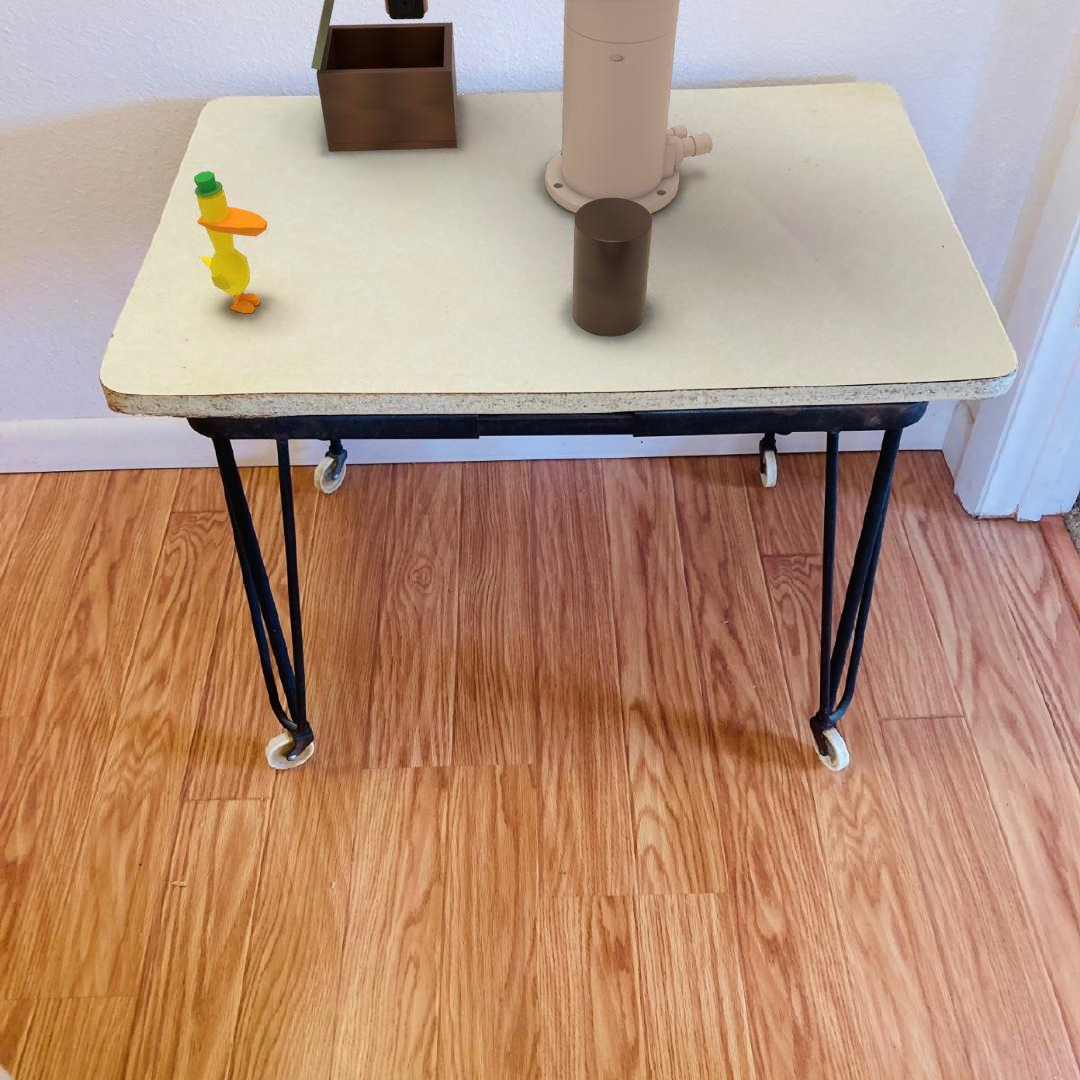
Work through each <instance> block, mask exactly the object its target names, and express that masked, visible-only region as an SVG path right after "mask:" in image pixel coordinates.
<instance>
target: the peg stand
mask: <svg viewBox="0 0 1080 1080" xmlns="http://www.w3.org/2000/svg"><path fill="white" fill-rule="evenodd" d="M573 221H574V222H573V225H574V226H573V228H574V229H573V257H572V258H573V260H572V263H573V264H572V266H573V267H572V296H571V297H572V299H571V316H572V318H573V319H574V322H575V323H576V325H578V327H579V328H581V329H583V330H584V331H586V332H588V333H591V334H593V335H598V336H605V337H616V336H622V335H625V334H628V333H630V332H632V331H634V330H636V329H637V328H639V326H640V325H641V324H642V322H643V320H644V318H645V310H646V299H647V287H648V275H649V265H650V254H651V244H652V243H651V241H652V231H653V217H652V215H651V214H650V213H649V211H648V210H647V209H646V208H645V207H643V206H642V205H640V204H638V203H636V202H634V201H631V200H627V199H623V198H601V199H597V200H593V201H590V202H588V203H586V204H584V205H583V206H582V207H580V208H579V210H578V211H577V212H576V213H574V220H573Z"/></svg>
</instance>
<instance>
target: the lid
mask: <svg viewBox="0 0 1080 1080" xmlns="http://www.w3.org/2000/svg"><path fill="white" fill-rule="evenodd" d="M334 5H335V0H323V4H322V9H321V14H320V19H319V23H318V29H317V35H316V41H315V46H314V51H313V56H312V61H311V67H310V68H311V69H314V70H316V71H317V70H320V67H321V62H322V58H323V53H324V48H325V43H326V39H327V34H328V29H329V25H331V19H332V14H333V10H334Z"/></svg>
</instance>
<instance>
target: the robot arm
mask: <svg viewBox="0 0 1080 1080" xmlns="http://www.w3.org/2000/svg"><path fill="white" fill-rule="evenodd" d="M680 1H681V0H564V1H563V3H564V4H563V7H564V8H563V9H564V10H563V43H562V44H563V45H562V47H563V50H562V52H563V53H562V110H561V111H562V113H561V114H562V119H561V120H562V121H561V122H562V123H561V124H562V125H561V131H562V132H561V150H560V151H559V152H557V153H555V155H554V156H553V157H552V158H551V159H550V160H549V162H548V163H547V165H546V168H545V172H544V184H545V188H546V192H547V193H548V194H549V196H550V198H551V199H552V200H553V201H554V202H555V203H557V205H559V206H561V207H562V208H564V209H566V210H567V211H569V212H572V213H574V214H576V212H577V211H578V210H579V208H580V207H582V206H583V205H584V204H586V203H588V202H590V201H593V200H597V199H601V198H623V199H627V200H631V201H634V202H636V203H638V204H640V205H642V206H643V207H645V208H646V209H647V210H648V211H649V213H650V214H653V213H655V212H658V211H660V210H661V209H663V208H664V207H666V206H667V205H668V204H670V203H671V202H672V201H673V199H675V197H676V195H677V193H678V191H679V183H680V172H679V170H678V167H677V165H678V164H681V163H682V162H683V160H684V159H686V158H690V157H691V158H692V157H697V156H702V155H706V154H710V153H712V151H713V139H712V137H711V134H710V133H709V132H707V131H705V132H704V131H703V132H699V133H696V134H690V135H688V130H687V127H686V126H685V125H684V124H681V125H677V126H672V127H670V128H668V124H669V123H668V122H669V111H670V101H671V92H672V91H671V90H672V81H673V80H672V79H673V70H674V60H675V59H674V57H675V49H676V37H677V27H678V22H679V21H678V20H679V11H680ZM388 8H389V14H388V17H389V18H390V19H391V20H397V21H398V20H422V19H424V17H425V14H424V1H423V0H388Z"/></svg>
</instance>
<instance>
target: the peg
mask: <svg viewBox="0 0 1080 1080" xmlns="http://www.w3.org/2000/svg"><path fill="white" fill-rule="evenodd" d="M423 1H424V15H425V14H427V13H428V10H429V0H423ZM384 8H385V12H386V14H387V15H389V8H388V0H384Z"/></svg>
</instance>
